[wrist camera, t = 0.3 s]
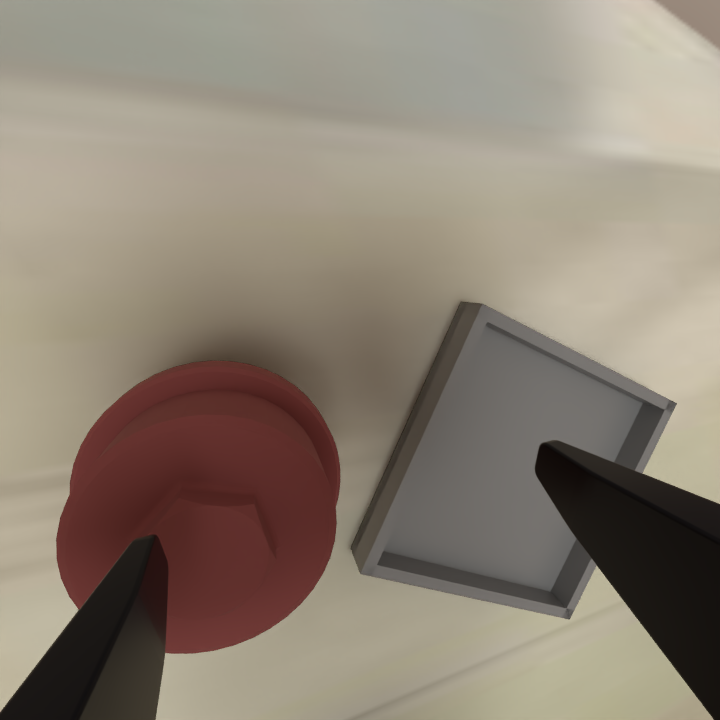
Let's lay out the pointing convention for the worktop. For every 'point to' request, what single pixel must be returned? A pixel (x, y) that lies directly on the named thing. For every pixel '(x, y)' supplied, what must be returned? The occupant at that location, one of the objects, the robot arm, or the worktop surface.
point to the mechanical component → (207, 498)
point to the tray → (500, 466)
